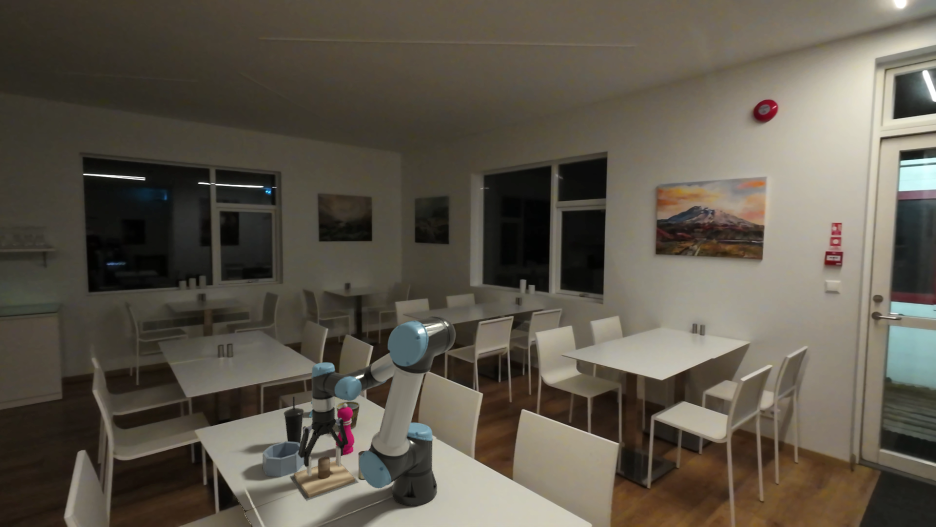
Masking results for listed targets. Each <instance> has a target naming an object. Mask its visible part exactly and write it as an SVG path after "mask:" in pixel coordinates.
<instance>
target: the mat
mask: <svg viewBox="0 0 936 527" xmlns="http://www.w3.org/2000/svg"><path fill="white" fill-rule="evenodd" d="M344 468H345V469H346V470H347V471H348V472H349V473H350V474H351V475H352V473H351V472H350V471H349V470H348V469H347V468H346V467H345V466H344ZM289 478H290V479H291V480H292V481H293V483H294V485H295V486H296V488H298V490H299V491H300V493H301V494H302V496H303V497H304V499H305V500H306V501H311V500H313V499H315V498H318V497H322V496H324V495H327V494H330V493H333V492H336V491H338V490H341V489H345V488H347V487H350V486H353V485H355V484H358V483H359V481H358V480H357V479H356V478H355V482H353V483H350V484H348V485H345V486H342V487H339V488H336V489H333V490H331V491H328V492H325V493H322V494H319V495H316V496H313V497H311V498H308V496H307V495H306V493H305V492H304V490H303V489H302V488H301V486H300V485H299V483H298V482H297V480H296V479H295V478H294V474H293V475H291V476H289Z"/></svg>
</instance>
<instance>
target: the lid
mask: <svg viewBox="0 0 936 527" xmlns="http://www.w3.org/2000/svg"><path fill="white" fill-rule="evenodd" d="M344 467H345V466H344V465H343V464H342V463H341V466H340V467H338V466H337V464H336V459H335V460H332V461H331V458H330V457H329V456H322V457H319V458H318V459H317V465H316V466H312V467H311V470H312V476H309V475H308V474H307V468H306V469H304V470H300V471H297V472H296V473H293V475H294V478H295V479H296V480H297V482H298V483H299V485H300V486H301V488H302V489H303V490H304V492H305V493H306V495H307V496H308V498H311V497H313V496H316V495H319V494H322V493H325V492H328V491H331V490H333V489H336V488H339V487H342V486H345V485H348V484H350V483H353V482H355V479H356V477H355V476H354V475H353V474H352V473H351V472H350V471H349V470H348V469H347V468H346V467H345V468H346V469H347V470H348V471H349V472H350V473H351V474H350V473H349V472H348V471H347V470H346V469H345V468H344Z"/></svg>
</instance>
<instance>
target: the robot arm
mask: <svg viewBox="0 0 936 527" xmlns="http://www.w3.org/2000/svg"><path fill="white" fill-rule="evenodd" d="M456 336H457V333H456V329H455V326H454V325H453V323H452V321H450V320H449V319H448V318H446V317H444V316H442V315H434V316H433V315H432V316H429V317H424V318H421V319H418V320H417V319H416V320H408V321H406V322H404V323H401V324H398V325H397V326H396V327H395V328H394V329H393V330H392V331H391V333H390V335H389V337H388V341H387V350H388V351H389V353H387V354H385V355H384V356H382V357H380V358H379V359H377V360H376V361H373V362H372V363H371V364H369V365H368V366H366V367H365V366H364V367H363V368H359V369H357V370H353V371H350V372H347V373H339V372H336V369H335V365H334V364H333V363H332V362H319V363H316V364H315V365H313V366H312V368H311V377H310V378H311V402H312V404H311V407H312V409H313V410H312V409H311V411H312V417H311V419H312V422H311V425H309V426H302V435H301V443H300V448H299V451H298V455H299V456H300V458H303V457H304V465H303V466H304V467H306V469H307V474H308V475H309V476H312V470H311V468H312V456H311V454H312V452H313V450H314V447H315V445H316V443H317V441H318V440H319V438H320V437H322V436H324V435H328V434H330V435H331V437H332V438H333V440H334V441H335V444H336V443H337V444H338V446H336V445H335V460H336V464H337V466H338V467H340V466H341V464H342V459H341V458H342V457H343V456H344V455H343V448H344V445H347V444H348V440H347V436H346V433H345V430H344V426H343V424H344V420H343V419H342V418H340V417H339V418H338V417H337V418H335V416H336V410H335V409H336V408H335V406H336V405H335V404H336V403H335V402H336V400H335V399H336V398H337V399H339V400H343V401H355V400H356V399H357V398H358V397H359V396H360V394H361V393H362V392H365V391H367V390H369V389H372V388H375V387H378V386H380V385H382V384H385V383H386V382H387V380H389V379H390V378H392V379H391V380H392V381H391V385H390V388H389V392H388V396H387V399H386V402H385V403H386V404H385V408H384V411H383V415H382V420H381V423H380V428H379V431H377V432H376V433H374V435H373V436H372V439H371V443H370V446H369V448H368V450H365V451H364V452H362V453H361V455H360V456H359V459H358V465H359V470H360V473H361V475H362V477H363V479H364V480H365V482H367V483H368V485H369V486H371V487H373V488H374V489H383V488H384V487H386V486H389V485H390V484H392V483H393V484H392V486H391V488H392V489H391V494H392V499H393V500H394V501H395V502H397V503H399V504H401V505H405V506H413V507H414V506H420V505H424V504H428V503H430V502H431V501H433V500H434V498H435V497H436V496H437V493H438V484H437V483H438V482H437V480H436V478H435V475H434V470H433V441H434V439H433V430H432V429H431V427H430V426H428V425H427V424H425V423H424V424H423V423H419V422H412V421H413V420H412V418H413V415H414V412H415V408H416V404H417V400H418V398H419V397H418V396H419V394H420V391H421V390H420V389H421V385H422V382H423V378H424V375H425V374H428V373H429V372H430V371H431V369H432V365H433V362H434V361H433V360H434V358H435V357H436V356H439V355H441V354H444V353H446V352H448V351H449V350H450V349H451V348H452V347H453V345H454V343H455V342H456V341H455V340H456ZM335 425H337V427H338V432H339V431H340V434H341V438H342V441H340V439H339V438H338V434H337V433H336V432H335V430H334V427H335ZM311 431H312V434H311V437H310V433H311ZM309 437H310V439H309Z"/></svg>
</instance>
